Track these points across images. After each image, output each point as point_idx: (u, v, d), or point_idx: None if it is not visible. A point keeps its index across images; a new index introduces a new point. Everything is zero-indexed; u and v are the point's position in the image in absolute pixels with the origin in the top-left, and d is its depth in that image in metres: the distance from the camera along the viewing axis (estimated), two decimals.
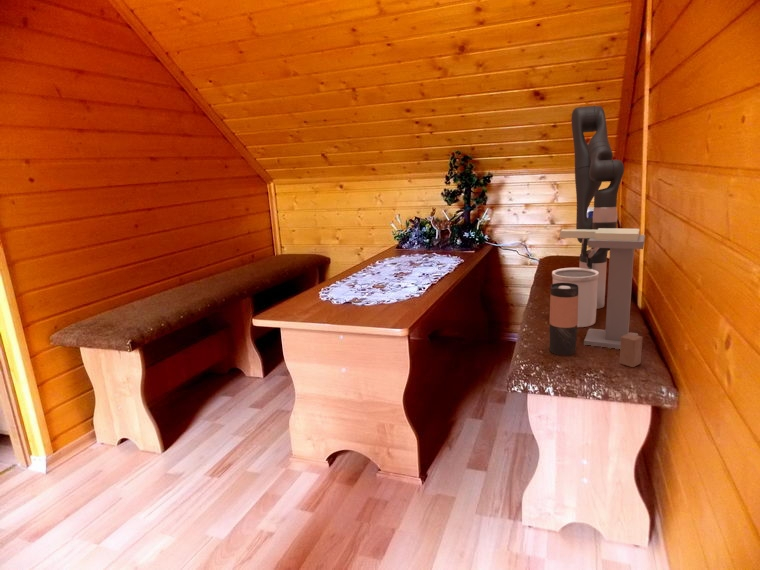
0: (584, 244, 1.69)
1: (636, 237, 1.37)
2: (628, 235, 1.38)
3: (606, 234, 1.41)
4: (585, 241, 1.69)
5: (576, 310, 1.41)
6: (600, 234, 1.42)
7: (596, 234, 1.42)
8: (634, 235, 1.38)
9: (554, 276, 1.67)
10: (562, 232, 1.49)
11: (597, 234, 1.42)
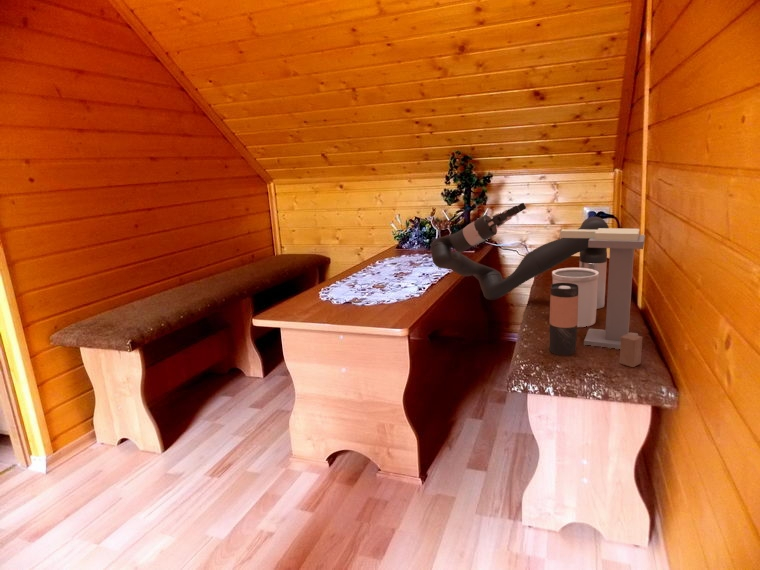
0: (491, 219, 1.60)
1: (636, 237, 1.37)
2: (628, 235, 1.38)
3: (606, 234, 1.41)
4: (488, 220, 1.61)
5: (576, 310, 1.41)
6: (600, 234, 1.42)
7: (596, 234, 1.42)
8: (634, 235, 1.38)
9: (554, 276, 1.67)
10: (562, 232, 1.49)
11: (597, 234, 1.42)
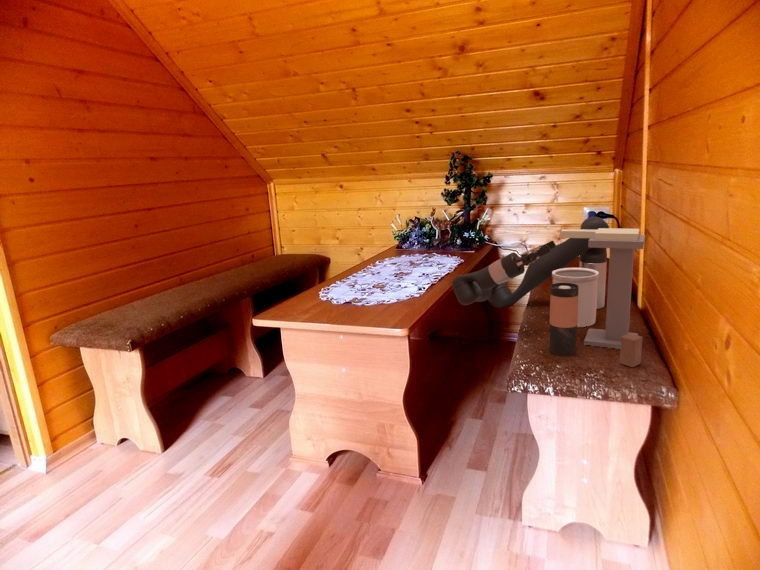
0: (520, 258, 1.52)
1: (636, 237, 1.37)
2: (628, 235, 1.38)
3: (606, 234, 1.41)
4: (517, 259, 1.53)
5: (576, 310, 1.41)
6: (600, 234, 1.42)
7: (596, 234, 1.42)
8: (634, 235, 1.38)
9: (554, 276, 1.67)
10: (562, 232, 1.49)
11: (597, 234, 1.42)
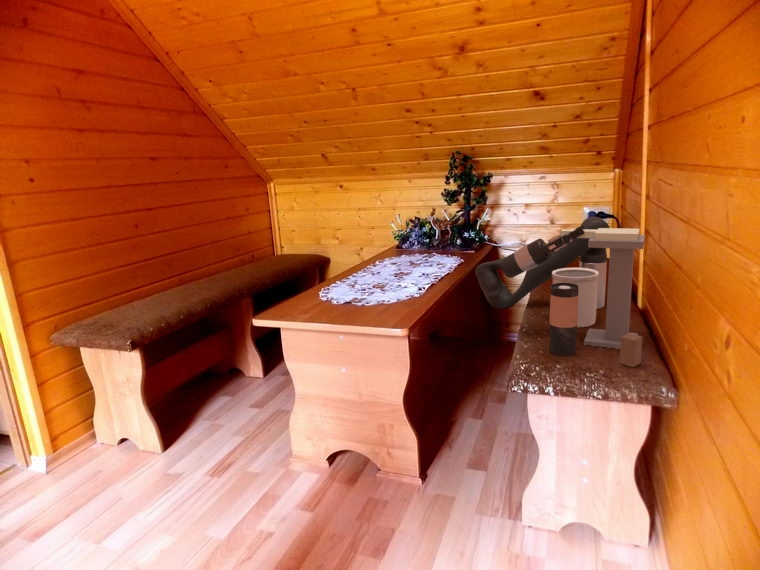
0: (553, 241, 1.48)
1: (636, 237, 1.37)
2: (628, 235, 1.38)
3: (606, 234, 1.41)
4: (549, 243, 1.48)
5: (576, 310, 1.41)
6: (600, 234, 1.42)
7: (596, 234, 1.42)
8: (634, 235, 1.38)
9: (554, 276, 1.67)
10: (562, 232, 1.49)
11: (597, 234, 1.42)
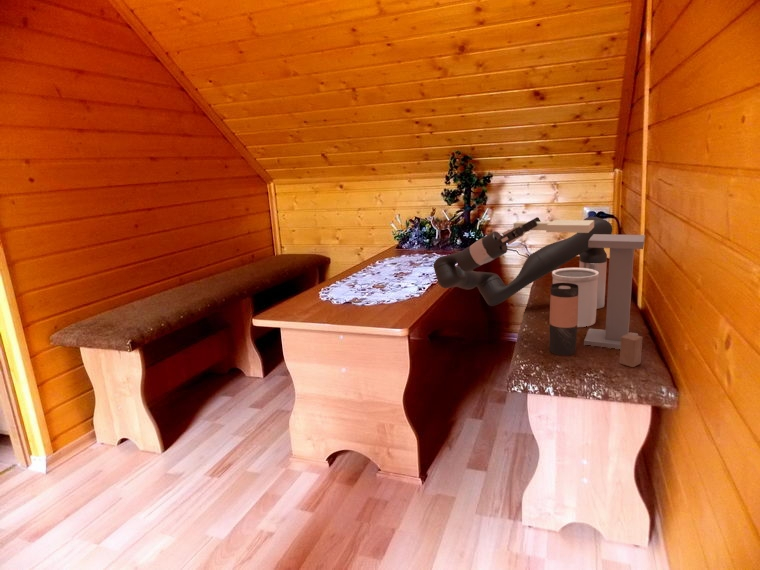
0: (505, 234, 1.44)
1: (587, 229, 1.33)
2: (579, 227, 1.34)
3: (557, 226, 1.37)
4: None
5: (576, 310, 1.41)
6: (551, 226, 1.38)
7: (548, 226, 1.38)
8: (585, 227, 1.33)
9: (554, 276, 1.67)
10: (515, 224, 1.46)
11: (549, 226, 1.38)
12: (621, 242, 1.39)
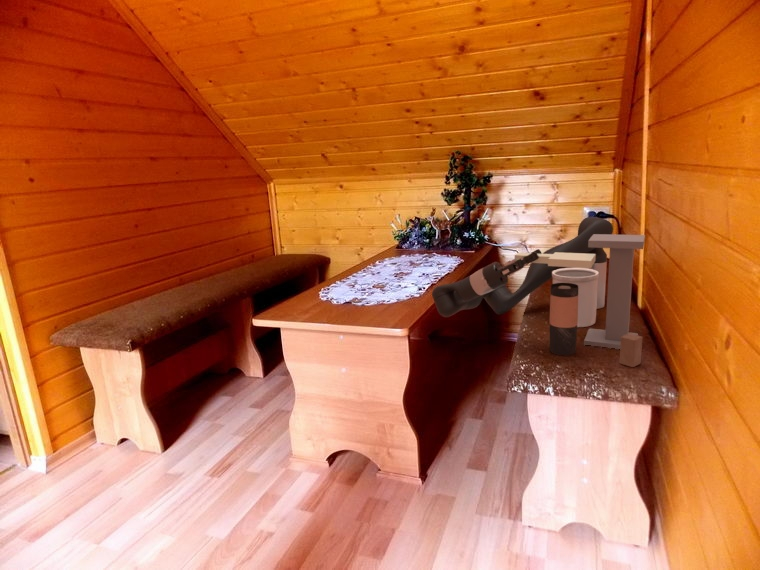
0: (506, 266, 1.43)
1: (589, 264, 1.32)
2: (581, 262, 1.33)
3: (559, 260, 1.36)
4: (503, 268, 1.43)
5: (576, 310, 1.41)
6: (553, 260, 1.37)
7: (549, 260, 1.37)
8: (587, 262, 1.32)
9: (554, 276, 1.67)
10: (517, 256, 1.44)
11: (550, 260, 1.37)
12: (621, 242, 1.39)
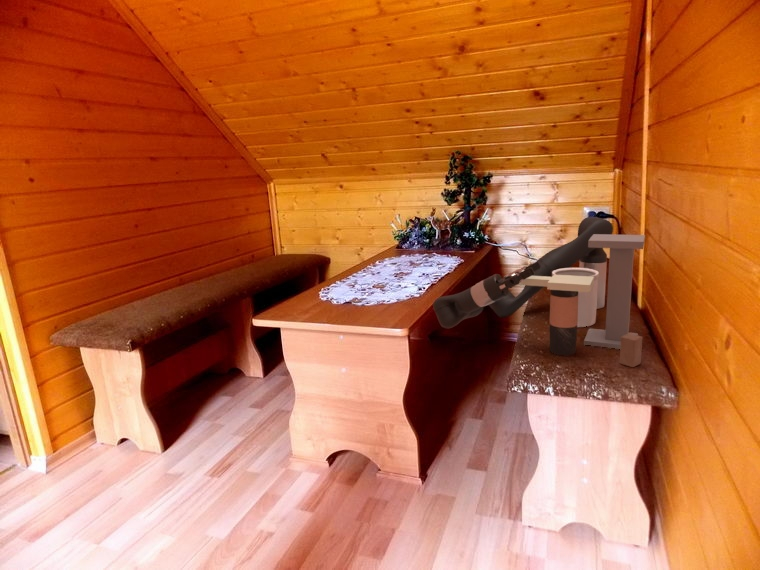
0: (503, 281, 1.44)
1: (588, 288, 1.34)
2: (580, 286, 1.35)
3: (558, 284, 1.38)
4: (500, 282, 1.45)
5: (576, 310, 1.41)
6: (553, 284, 1.38)
7: (549, 283, 1.39)
8: (586, 286, 1.34)
9: None
10: None
11: (550, 283, 1.39)
12: (621, 242, 1.39)
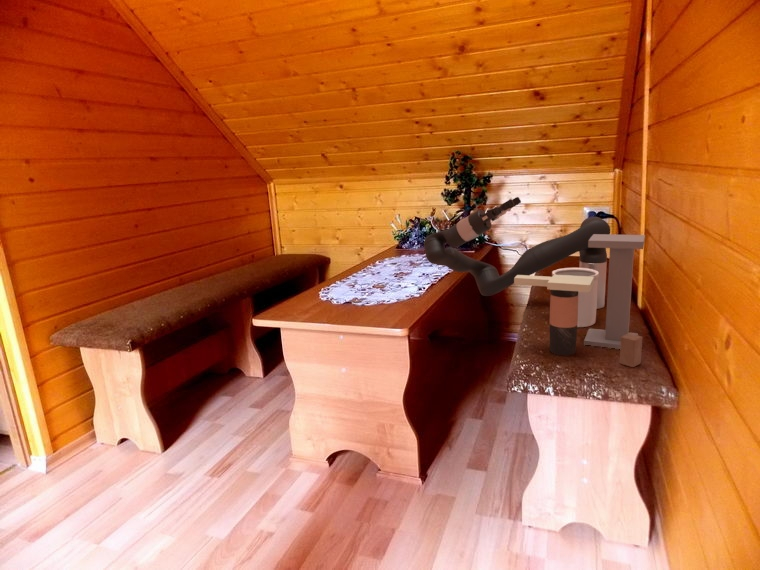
0: (485, 213, 1.56)
1: (588, 288, 1.34)
2: (580, 286, 1.35)
3: (558, 284, 1.38)
4: (482, 214, 1.57)
5: (576, 310, 1.41)
6: (552, 283, 1.38)
7: (549, 283, 1.39)
8: (586, 286, 1.34)
9: None
10: (516, 279, 1.46)
11: (550, 283, 1.39)
12: (621, 242, 1.39)
